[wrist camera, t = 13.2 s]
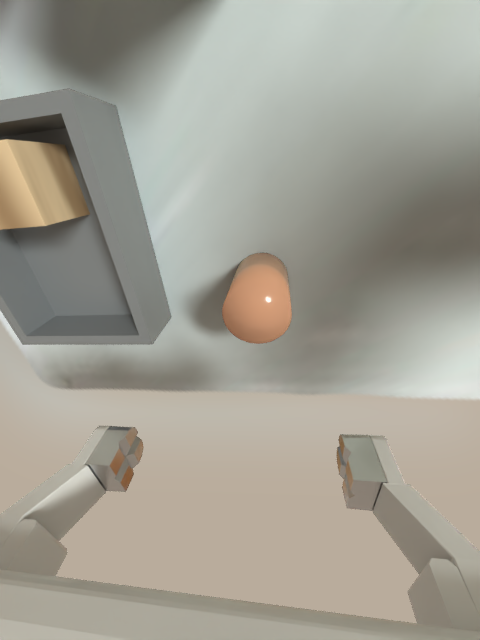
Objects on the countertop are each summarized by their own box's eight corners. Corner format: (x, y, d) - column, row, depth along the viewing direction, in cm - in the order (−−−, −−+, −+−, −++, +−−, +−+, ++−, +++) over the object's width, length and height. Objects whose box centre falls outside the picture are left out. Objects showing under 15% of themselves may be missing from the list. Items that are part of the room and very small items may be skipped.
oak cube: (64, 144, 20) (6, 139, 15) (90, 214, 22) (46, 225, 18) (9, 152, 20) (-61, 149, 16) (40, 218, 23) (-14, 230, 19)
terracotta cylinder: (288, 251, 23) (292, 281, 17) (288, 301, 25) (291, 343, 19) (232, 254, 24) (217, 284, 18) (238, 302, 26) (226, 343, 20)
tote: (115, 105, 19) (68, 88, 15) (171, 317, 28) (152, 344, 24) (-41, 130, 21) (-121, 121, 17) (58, 319, 30) (22, 344, 26)
